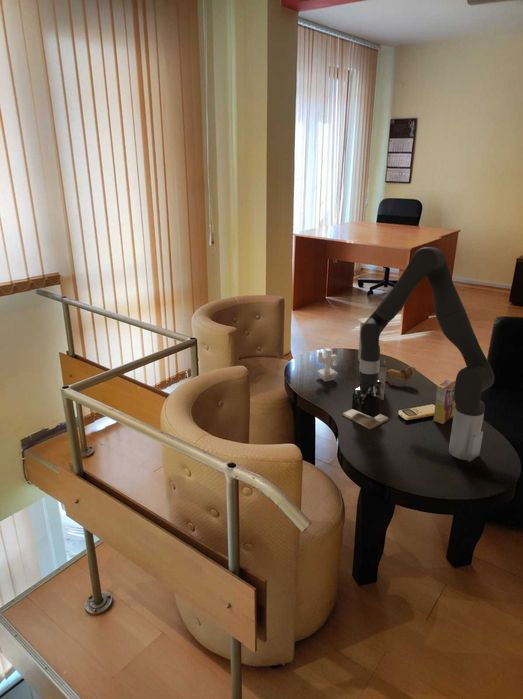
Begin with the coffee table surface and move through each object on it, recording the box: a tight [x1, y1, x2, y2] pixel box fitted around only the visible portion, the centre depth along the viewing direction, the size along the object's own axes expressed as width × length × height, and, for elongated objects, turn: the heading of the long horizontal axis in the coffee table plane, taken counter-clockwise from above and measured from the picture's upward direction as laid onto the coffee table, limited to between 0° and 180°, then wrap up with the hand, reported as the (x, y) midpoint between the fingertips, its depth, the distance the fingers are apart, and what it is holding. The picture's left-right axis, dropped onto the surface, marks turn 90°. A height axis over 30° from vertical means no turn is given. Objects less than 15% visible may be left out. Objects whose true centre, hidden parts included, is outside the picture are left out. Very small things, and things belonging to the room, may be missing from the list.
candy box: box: [433, 378, 456, 425], centre depth 195 cm, size 9×4×15 cm, turn 133°
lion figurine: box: [385, 365, 416, 388], centre depth 226 cm, size 15×5×9 cm, turn 79°
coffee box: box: [376, 356, 388, 401], centre depth 215 cm, size 9×6×16 cm
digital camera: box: [351, 392, 382, 418], centre depth 197 cm, size 10×5×7 cm, turn 44°
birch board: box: [342, 408, 389, 430], centre depth 199 cm, size 14×11×1 cm
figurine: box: [316, 347, 339, 383], centre depth 230 cm, size 7×9×15 cm
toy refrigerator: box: [357, 317, 369, 363], centre depth 249 cm, size 8×7×21 cm
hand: (366, 408), depth 198 cm, fingers closed on digital camera, 5 cm apart
